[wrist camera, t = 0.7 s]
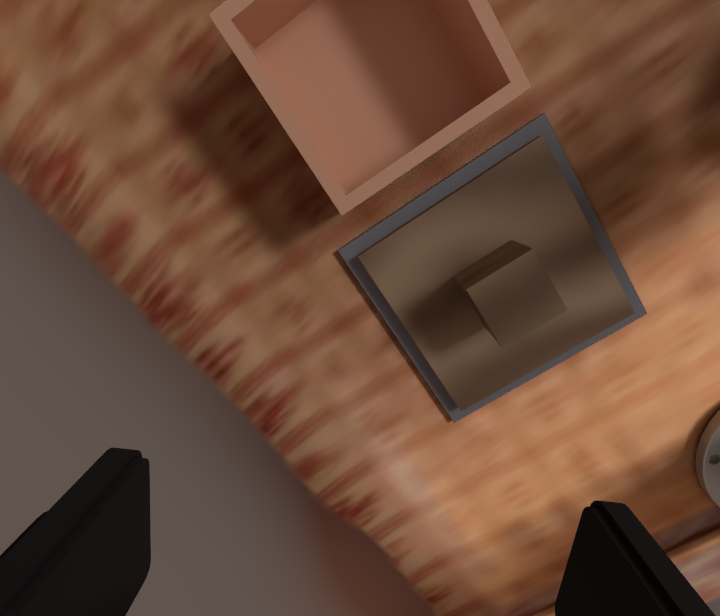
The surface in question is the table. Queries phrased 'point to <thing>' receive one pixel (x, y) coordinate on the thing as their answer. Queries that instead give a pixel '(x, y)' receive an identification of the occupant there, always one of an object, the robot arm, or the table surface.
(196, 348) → the table surface
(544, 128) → the rubber mat
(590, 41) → the table surface
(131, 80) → the table surface
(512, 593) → the table surface
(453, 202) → the walnut lid
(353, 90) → the terracotta box
